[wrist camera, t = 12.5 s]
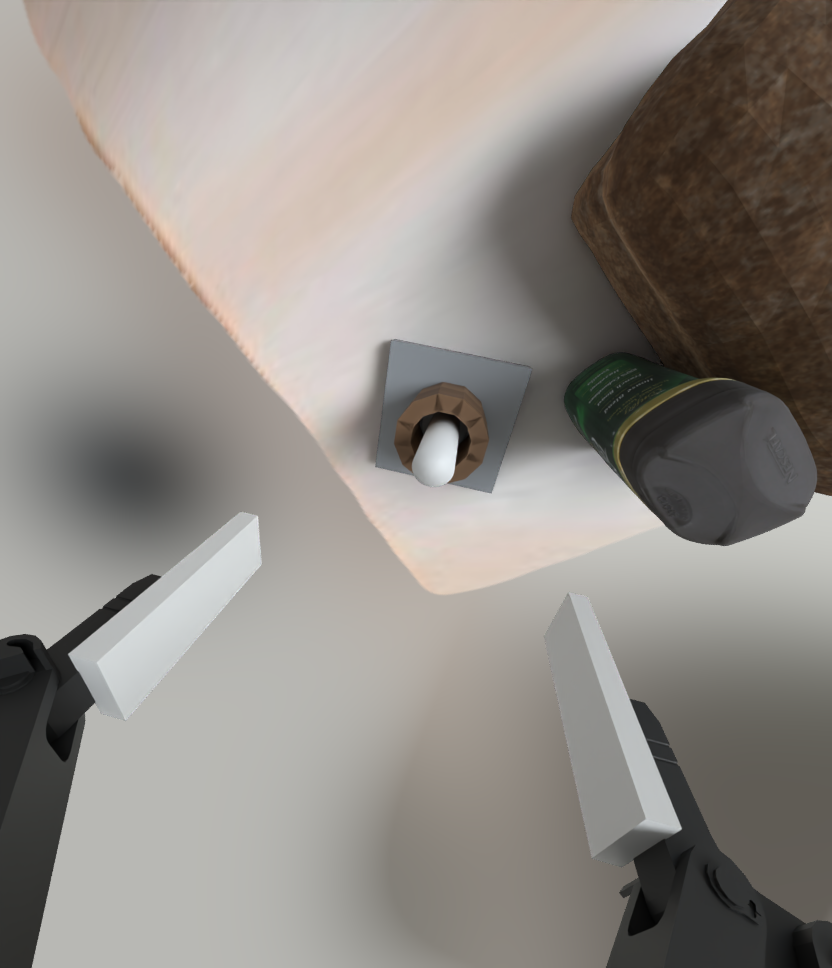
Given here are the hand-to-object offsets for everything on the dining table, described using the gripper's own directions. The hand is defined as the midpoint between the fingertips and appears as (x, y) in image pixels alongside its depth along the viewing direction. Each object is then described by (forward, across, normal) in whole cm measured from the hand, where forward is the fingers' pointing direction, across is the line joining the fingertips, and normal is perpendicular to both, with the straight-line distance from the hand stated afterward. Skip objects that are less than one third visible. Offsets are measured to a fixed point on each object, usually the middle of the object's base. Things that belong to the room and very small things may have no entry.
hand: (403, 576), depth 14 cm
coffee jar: (+26, +16, +5) cm, 31 cm away
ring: (+24, 0, 0) cm, 24 cm away
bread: (+26, +21, +16) cm, 37 cm away
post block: (+26, 0, 0) cm, 26 cm away
